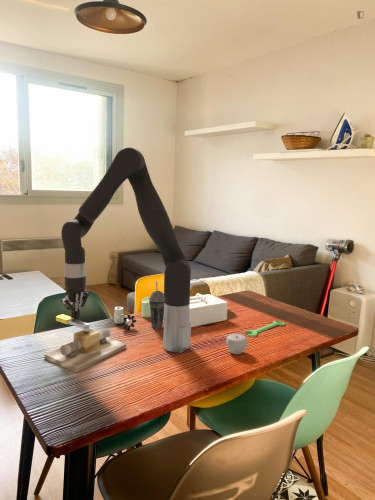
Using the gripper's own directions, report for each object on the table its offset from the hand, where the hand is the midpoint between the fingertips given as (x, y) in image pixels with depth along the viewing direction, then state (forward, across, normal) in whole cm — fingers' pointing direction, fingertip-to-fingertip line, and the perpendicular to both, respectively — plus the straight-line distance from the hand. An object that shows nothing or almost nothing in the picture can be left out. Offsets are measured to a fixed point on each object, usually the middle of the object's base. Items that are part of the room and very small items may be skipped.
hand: (75, 319), depth 139 cm
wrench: (+9, +51, -59) cm, 79 cm away
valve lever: (+1, -5, -3) cm, 6 cm away
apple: (+9, +22, -56) cm, 61 cm away
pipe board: (+9, -6, -10) cm, 14 cm away
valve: (+9, +23, -5) cm, 25 cm away
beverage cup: (+9, +29, -18) cm, 35 cm away
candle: (+9, +38, -7) cm, 40 cm away
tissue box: (+9, +46, -28) cm, 55 cm away
